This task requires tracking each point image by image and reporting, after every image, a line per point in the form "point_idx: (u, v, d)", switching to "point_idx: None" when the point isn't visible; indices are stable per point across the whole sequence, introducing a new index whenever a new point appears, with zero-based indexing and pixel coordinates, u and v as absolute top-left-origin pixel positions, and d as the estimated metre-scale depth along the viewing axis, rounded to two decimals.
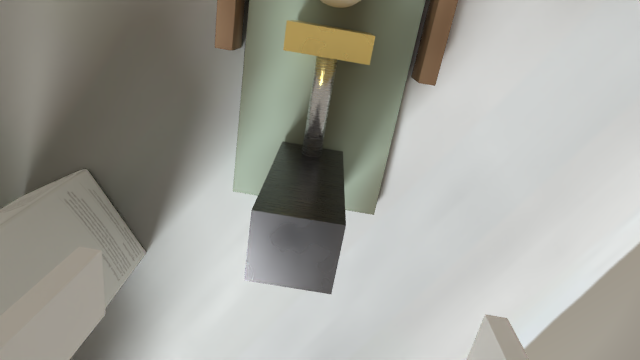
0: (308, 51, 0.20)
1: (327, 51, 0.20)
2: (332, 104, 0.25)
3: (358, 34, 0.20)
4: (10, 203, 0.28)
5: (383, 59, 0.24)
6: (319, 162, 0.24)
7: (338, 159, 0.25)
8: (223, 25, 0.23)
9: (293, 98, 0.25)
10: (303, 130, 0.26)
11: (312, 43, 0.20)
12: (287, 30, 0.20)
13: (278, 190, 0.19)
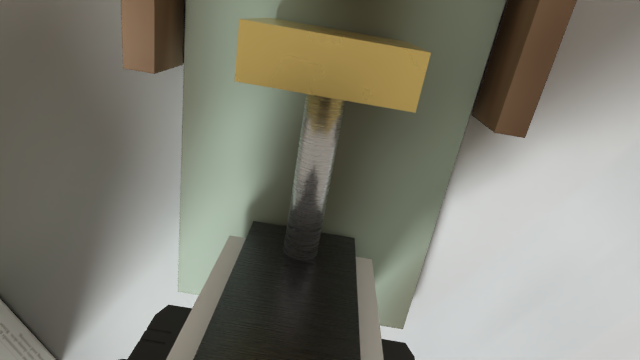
0: (287, 84, 0.10)
1: (327, 85, 0.09)
2: (337, 162, 0.15)
3: (394, 49, 0.09)
4: None
5: (428, 88, 0.14)
6: (313, 273, 0.13)
7: (346, 261, 0.14)
8: (135, 28, 0.12)
9: (270, 152, 0.15)
10: (288, 203, 0.16)
11: (295, 68, 0.09)
12: (241, 40, 0.09)
13: None
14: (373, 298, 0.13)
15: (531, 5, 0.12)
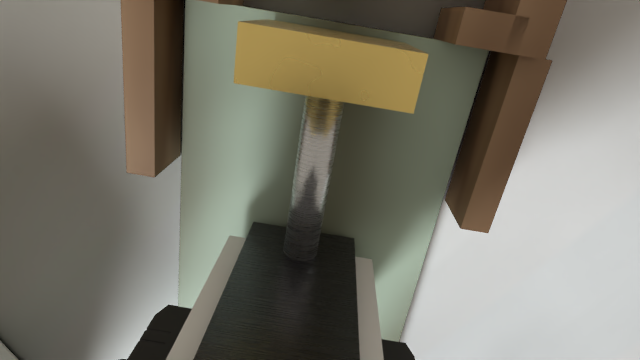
0: (286, 85, 0.10)
1: (325, 86, 0.10)
2: None
3: (392, 50, 0.09)
4: None
5: (402, 183, 0.15)
6: (313, 274, 0.13)
7: (346, 261, 0.14)
8: (137, 140, 0.14)
9: None
10: None
11: (294, 69, 0.09)
12: (240, 42, 0.09)
13: None
14: (373, 298, 0.13)
15: (490, 122, 0.13)
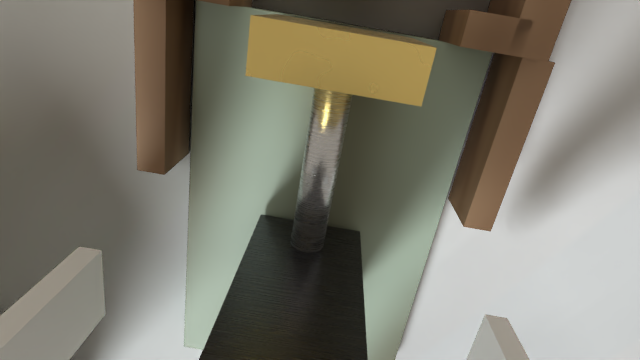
0: (296, 78, 0.10)
1: (335, 79, 0.10)
2: None
3: (401, 44, 0.09)
4: None
5: (406, 182, 0.15)
6: (320, 265, 0.13)
7: (352, 253, 0.14)
8: (148, 138, 0.14)
9: None
10: None
11: (305, 62, 0.10)
12: (252, 36, 0.09)
13: None
14: None
15: (493, 123, 0.13)
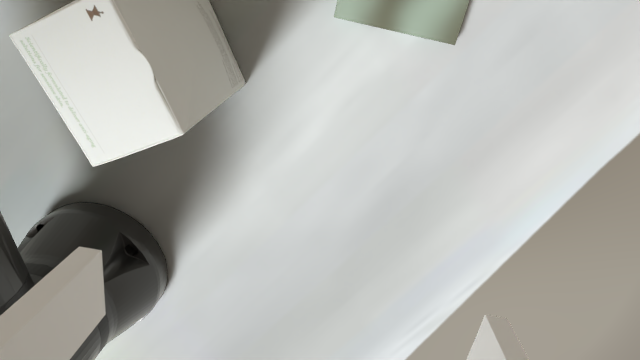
0: None
1: None
2: None
3: None
4: None
5: None
6: None
7: None
8: None
9: None
10: None
11: None
12: None
13: None
14: None
15: None
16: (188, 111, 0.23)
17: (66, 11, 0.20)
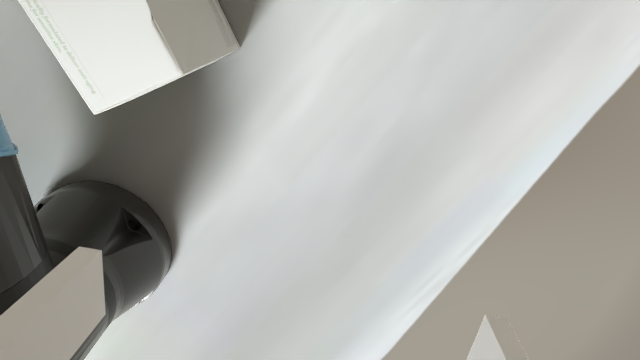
0: None
1: None
2: None
3: None
4: None
5: None
6: None
7: None
8: None
9: None
10: None
11: None
12: None
13: None
14: None
15: None
16: (186, 54, 0.23)
17: None
